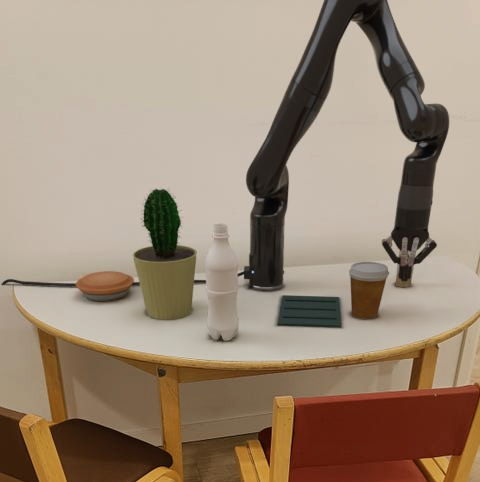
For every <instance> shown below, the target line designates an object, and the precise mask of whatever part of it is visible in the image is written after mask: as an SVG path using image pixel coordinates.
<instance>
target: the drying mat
mask: <svg viewBox="0 0 480 482" xmlns="http://www.w3.org/2000/svg"><path fill="white" fill-rule="evenodd" d="M341 318H342V317H341V302H340V296H327V295H326V296H323V295H321V296H319V295H293V294H292V295H287V294H286V295H285V294H282V296H281V301H280V307H279V314H278V319H277V326H285V327H313V328H339V329H340V328H342V321H341Z"/></svg>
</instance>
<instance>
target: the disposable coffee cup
mask: <svg viewBox="0 0 480 482" xmlns="http://www.w3.org/2000/svg"><path fill="white" fill-rule="evenodd" d="M348 274H349V278H350V279H349V280H350V302H351V306H350V308H351V316H352V317H354V318H357V319H361V320H372V319H375V318H377V317H378V316H379V315H378V314H379V312H380V311H379V310H380V306H381V302H382V298H383V294H384V290H385V286H386V282H387V279H388V277H389V275H390V271H389V267H388V265H386V264H384V263H381V262H375V261H358V262H355V263H352V264H351V266H350V268H349V270H348Z"/></svg>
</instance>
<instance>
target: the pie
mask: <svg viewBox="0 0 480 482" xmlns="http://www.w3.org/2000/svg"><path fill="white" fill-rule="evenodd" d="M133 282H135V278H134V277H133V276H131V275H129V274H126V273H123V272H122V271H115V270H114V271H113V270H108V271H107V270H106V271H105V270H104V271H97V272H92V273H88V274H86V275H84V276H82V277H81V278H79V279H77V281H76V282H75V283H76V285H75V286H74V287H76V288H77V289H78V290H79V292H81V293H82V294H83V296H84V297H85V298H86V299H88V300H90V301H93V302H111V301H116V300H119V299H122V298H124V297H125V296H127V294H128V293H129V291H130V288H131V287H132V286H133V285H132V284H133Z"/></svg>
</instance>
